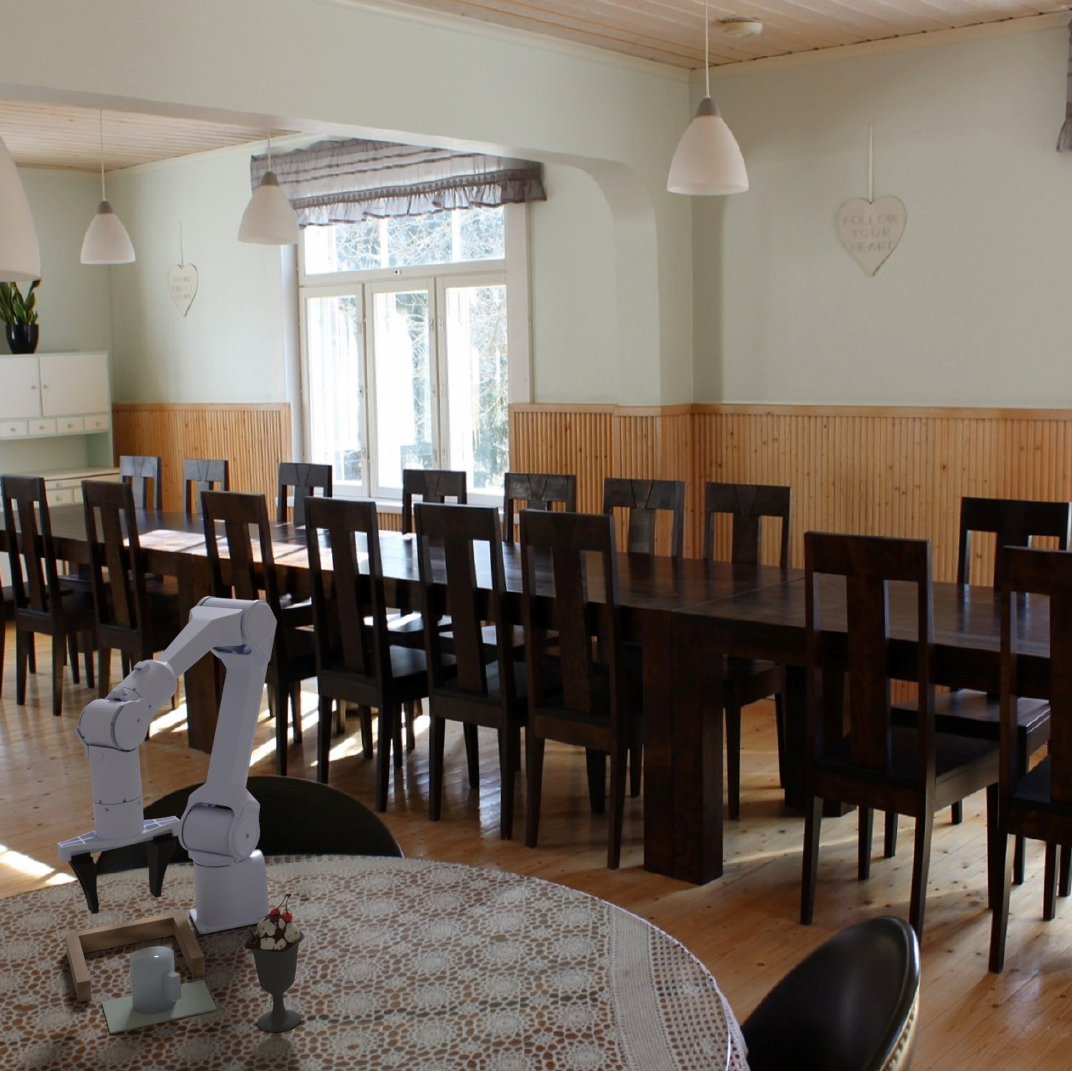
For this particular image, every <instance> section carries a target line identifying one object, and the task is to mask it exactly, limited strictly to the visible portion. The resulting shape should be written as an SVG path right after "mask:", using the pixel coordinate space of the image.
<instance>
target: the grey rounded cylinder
mask: <svg viewBox="0 0 1072 1071" xmlns="http://www.w3.org/2000/svg"><path fill="white" fill-rule="evenodd" d="M174 953H175V952H174V950H173V949H172V948H169V947H168V946H159V945H158V946H149V947H144V948H141V949H139V950H137V951H135V952H133V953H132V954H131V955H129V956H130V957H129V970H130V985H131V995H132V1003H133V1009H134V1011H136V1012H138V1013H141V1014H156V1013H160V1012H163V1011H166V1010H168V1009H170V1008H172V1007H173V1006H174V1005H175V1004H176V1001H178V1000H179V999H181V998H182V996H181V973H179V972H176V971H175V970H176V969H175V955H174Z"/></svg>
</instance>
